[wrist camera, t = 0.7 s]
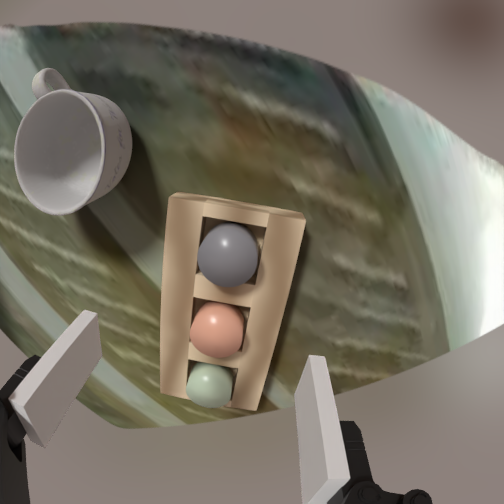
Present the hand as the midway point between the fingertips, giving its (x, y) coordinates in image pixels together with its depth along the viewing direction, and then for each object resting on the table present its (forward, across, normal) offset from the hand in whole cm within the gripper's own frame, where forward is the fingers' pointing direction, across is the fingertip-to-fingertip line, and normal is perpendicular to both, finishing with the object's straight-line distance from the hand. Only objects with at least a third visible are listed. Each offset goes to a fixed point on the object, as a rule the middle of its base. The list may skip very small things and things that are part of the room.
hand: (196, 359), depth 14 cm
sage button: (+16, 0, -16) cm, 22 cm away
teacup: (+18, -16, +9) cm, 26 cm away
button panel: (+18, 0, -8) cm, 19 cm away
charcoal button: (+16, 0, 0) cm, 16 cm away
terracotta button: (+16, 0, -8) cm, 18 cm away
